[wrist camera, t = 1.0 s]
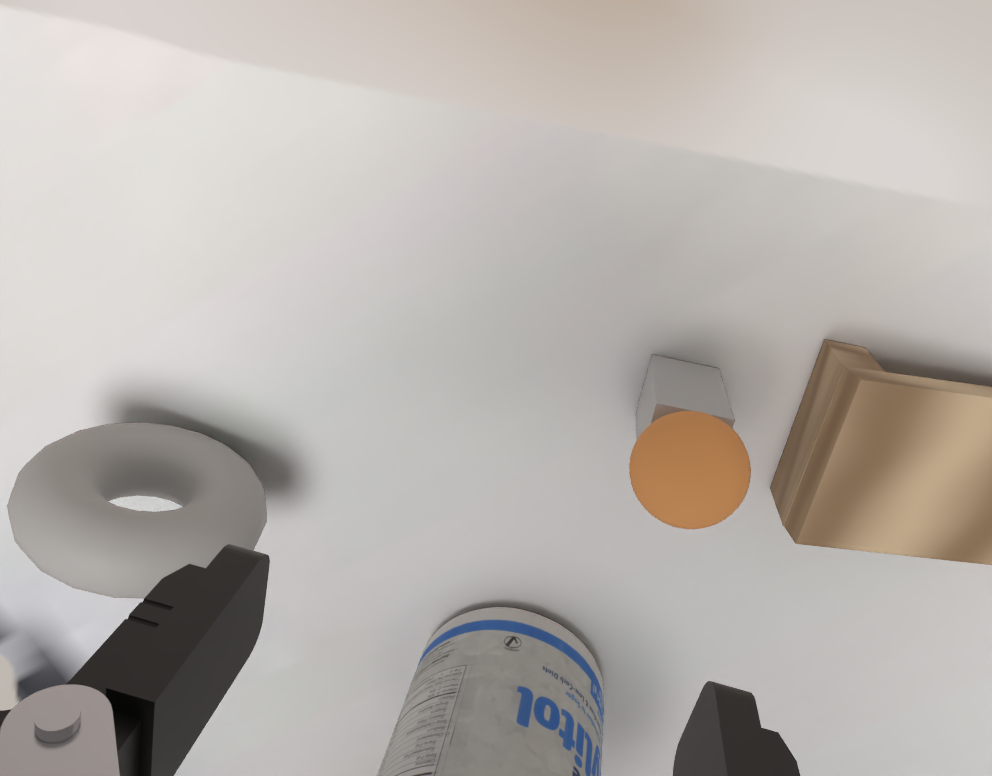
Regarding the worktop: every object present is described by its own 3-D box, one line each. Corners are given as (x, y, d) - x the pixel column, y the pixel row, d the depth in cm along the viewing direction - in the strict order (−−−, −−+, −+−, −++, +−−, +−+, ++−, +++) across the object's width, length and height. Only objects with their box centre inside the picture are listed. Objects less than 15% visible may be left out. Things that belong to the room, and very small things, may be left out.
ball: (743, 487, 28) (761, 550, 25) (634, 493, 29) (635, 555, 26) (739, 388, 27) (757, 438, 23) (624, 397, 28) (624, 448, 24)
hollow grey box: (635, 413, 33) (637, 470, 29) (651, 354, 32) (656, 403, 27) (700, 428, 33) (712, 486, 28) (718, 368, 32) (734, 419, 27)
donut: (308, 455, 36) (203, 585, 27) (294, 512, 38) (190, 654, 29) (111, 383, 37) (-58, 490, 27) (105, 443, 38) (-59, 563, 29)
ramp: (769, 487, 33) (788, 542, 30) (824, 339, 31) (852, 378, 27) (1101, 560, 32) (1164, 626, 29) (1189, 414, 30) (1272, 465, 26)
